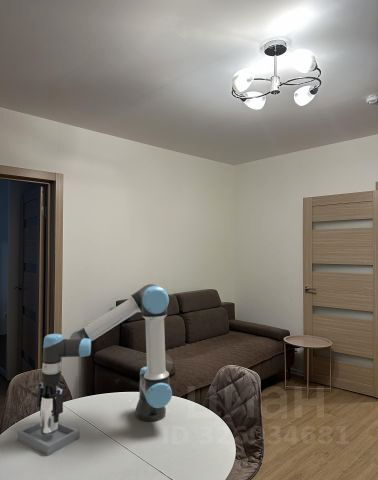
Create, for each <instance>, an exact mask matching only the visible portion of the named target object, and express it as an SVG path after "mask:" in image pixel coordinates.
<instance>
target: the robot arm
mask: <svg viewBox="0 0 378 480" xmlns="http://www.w3.org/2000/svg"><path fill="white" fill-rule="evenodd" d="M169 302H170V297H169V295H168V293H167V290H165V289H164V288H162V287H161V286H158V285H156V284H153V283H152V284H151V283H149V284H146V285H143V287H141V288H140V289H139V290H136V292H134V293H133V294H131V295H130V296H129V299H127V300H126V301H125V300H124V302H122V303H120V304H119V305H117V306H116V307H114V308H113V309H111V310H110V311H109V310H108V312H106V313H105V314H104V315H101V316H99V317H98V318H97V319H96V320H94V321H92V322H90V323H89V324H87V325H86V326H84V327H83V328H81V329H79V330H75V331H74V332H72V333H71V335H70V336H69V338H64V337H63V334H62V333H61V334H60V333H50V334H47V335H46V336H44V338H43V346H42V369H41V372H42V373H41V382H40V383H38V384H37V385H38V393H37V401H36V407H37V408H39V410H40V412H39V417H40V419H39V422H40V426H42V417H41V401H42V396H43V395H44V397H43V398H46V399H49V397H50V398H53V400H52V401H53V406H52V409H53V414H52V418H51V431H54V430H56V429H58V422H59V420H60V419H59V418H60V415H61V414H63V412H64V392H65V390H64V388H61V387H60V384H59V382H60V381H61V377H62V372H61V370H62V358H79V357H80V358H83V357H89V356H90V355H91V350H92V342H93V341H95V340H96V339H97V338H99V337H100V336H102V335H104V334H105V333H106V332H108V331H110V330H112V329H113V328H114V327H116V326H117V325H119V324H121V323H122V322H124V321H126V320H127V319H128V318H130V317H132V316H134V315H135V314H137V313H141V317H142V318H143V319H145V346H146V349H145V350H146V366H143V367H142V368H140V372H139V394H138V395H139V396H138V397H139V398H138V401H137V404H136V408H135V409H134V410H135V412H134V416H135V418H136V419H138V420H139V421H144V422H155V421H156V420H157V421H160V420H162V419H164V418H165V417H166V415H165V414H167V412H166V411H167V409H166V406H167V405H168V404H169V402H171V400H172V397H173V390H172V388H171V386H170V373H169V371H167V370H166V367H167V366H166V344H165V343H166V342H165V341H166V340H165V339H166V338H165V335H166V334H165V318H166V317H167V315H168V306H169ZM54 394H55V395H54ZM52 395H53V396H52ZM55 397H56V398H55ZM54 398H55V399H54ZM164 416H165V417H164ZM163 417H164V418H163ZM161 418H162V419H161ZM159 419H160V420H159Z"/></svg>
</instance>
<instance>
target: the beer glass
mask: <svg viewBox="0 0 378 480" xmlns="http://www.w3.org/2000/svg"><path fill="white" fill-rule="evenodd" d="M54 395H55V394H54ZM52 396H53V395H52ZM43 397H44V395H43V396H42V401H41V402H40V403H41V417H42V429H41V434H42V435H44V436H48V435H52V434H54V433H55V432H56V430H54V431H51V418H52V414H53V409H52V406H53V401H52V400H53V398H50V397H49V399H46V398H43ZM55 398H56V397H55ZM55 398H54V399H55Z"/></svg>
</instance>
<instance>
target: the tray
mask: <svg viewBox="0 0 378 480" xmlns="http://www.w3.org/2000/svg"><path fill="white" fill-rule="evenodd" d="M41 429H42V426H40V421H38V422H36V423H34V424H31V425H29V426H27V427H24V428H23V429H20V430H18V431H17V436H16V437H17V439H16V440H17V441H18V442H20V443H22V444H24V445H26V446H28V447H30V448H32V449H34V450H36V451H38V452H40V453H42V454H44V455H46V456H50V455H52V454H53V453H55V452H58V451H59V450H62V449H63V448H65V447H66V446H68V445H70V444H73V442H76V441H78V440H79V436H80V429H79V430H78V429H76V428H74V427H71V426H69V425H68V424H65V423H62V422H59V421H58V429H56V432H55V433H54V434H52V435H48V436H44V435H42V434H41Z"/></svg>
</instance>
